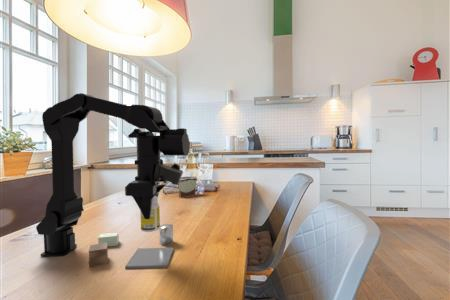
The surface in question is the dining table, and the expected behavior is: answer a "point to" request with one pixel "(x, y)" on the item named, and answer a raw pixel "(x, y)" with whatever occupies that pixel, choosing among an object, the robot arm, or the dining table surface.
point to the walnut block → (98, 254)
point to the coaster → (150, 258)
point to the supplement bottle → (151, 218)
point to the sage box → (109, 239)
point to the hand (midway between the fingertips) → (149, 215)
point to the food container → (187, 186)
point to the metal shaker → (166, 234)
